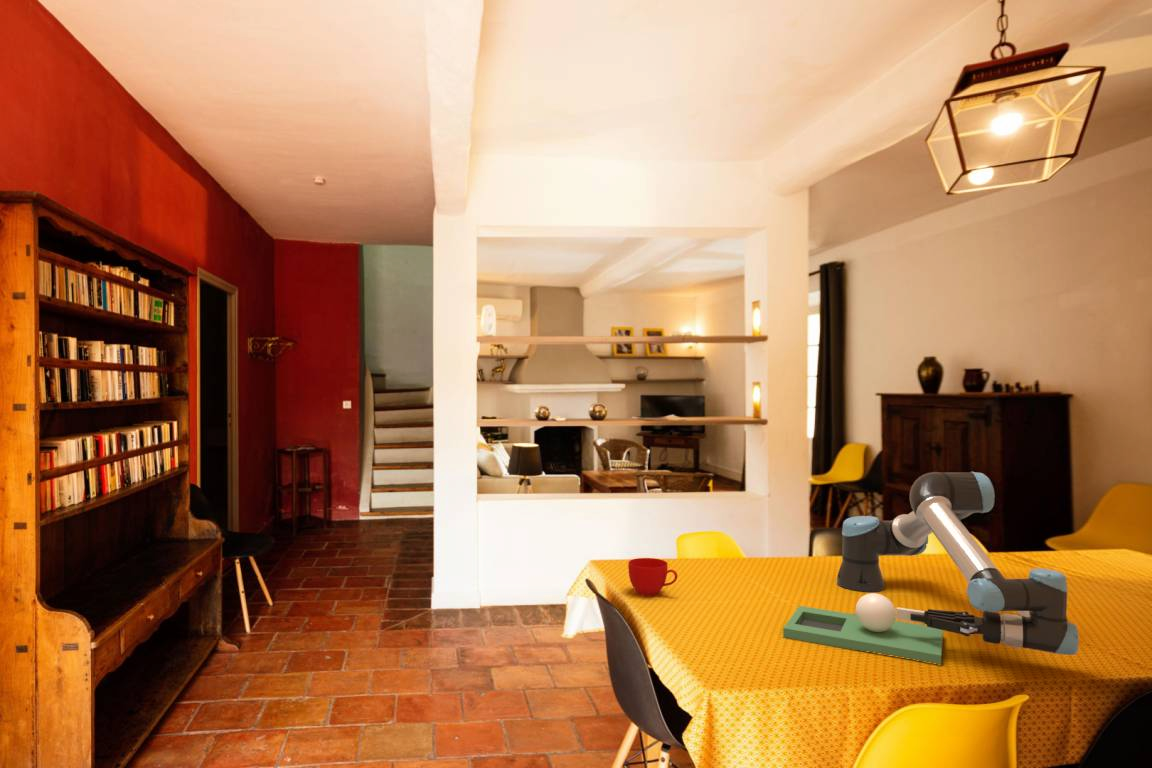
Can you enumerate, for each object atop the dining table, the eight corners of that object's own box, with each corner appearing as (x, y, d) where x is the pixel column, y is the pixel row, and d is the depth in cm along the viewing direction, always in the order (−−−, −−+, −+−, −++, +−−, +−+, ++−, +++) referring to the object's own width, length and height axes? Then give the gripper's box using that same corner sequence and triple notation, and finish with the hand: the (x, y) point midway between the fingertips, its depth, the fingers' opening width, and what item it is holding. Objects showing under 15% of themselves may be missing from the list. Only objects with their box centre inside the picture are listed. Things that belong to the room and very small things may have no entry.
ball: (885, 620, 190) (858, 591, 192) (910, 610, 182) (881, 580, 185) (869, 644, 184) (841, 614, 187) (894, 634, 177) (865, 604, 179)
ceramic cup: (668, 603, 215) (668, 571, 215) (621, 594, 224) (621, 564, 224) (684, 593, 226) (685, 562, 226) (639, 585, 235) (639, 556, 235)
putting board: (942, 637, 187) (942, 628, 187) (941, 665, 168) (941, 655, 168) (799, 614, 205) (799, 605, 205) (783, 637, 186) (783, 628, 186)
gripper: (1002, 652, 165) (894, 635, 176) (999, 635, 176) (898, 619, 187) (1002, 621, 165) (895, 605, 176) (999, 606, 176) (898, 592, 187)
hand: (896, 613), depth 182 cm, fingers closed
